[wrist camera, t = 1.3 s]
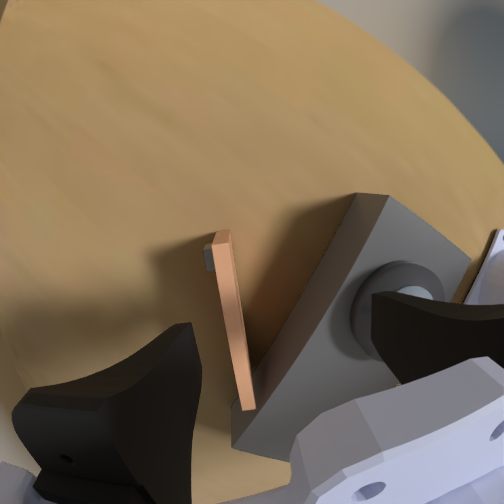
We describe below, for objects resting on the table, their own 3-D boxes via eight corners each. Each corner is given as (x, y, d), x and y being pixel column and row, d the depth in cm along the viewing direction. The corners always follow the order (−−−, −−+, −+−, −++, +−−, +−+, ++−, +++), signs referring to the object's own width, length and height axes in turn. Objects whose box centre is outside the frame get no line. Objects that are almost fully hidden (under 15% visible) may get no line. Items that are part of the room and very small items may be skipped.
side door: (229, 230, 18) (228, 242, 14) (252, 371, 21) (255, 408, 16) (206, 233, 18) (198, 246, 14) (232, 373, 21) (232, 411, 16)
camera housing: (433, 245, 20) (486, 265, 14) (311, 430, 23) (327, 482, 17) (356, 192, 19) (404, 197, 13) (231, 406, 22) (231, 464, 16)
